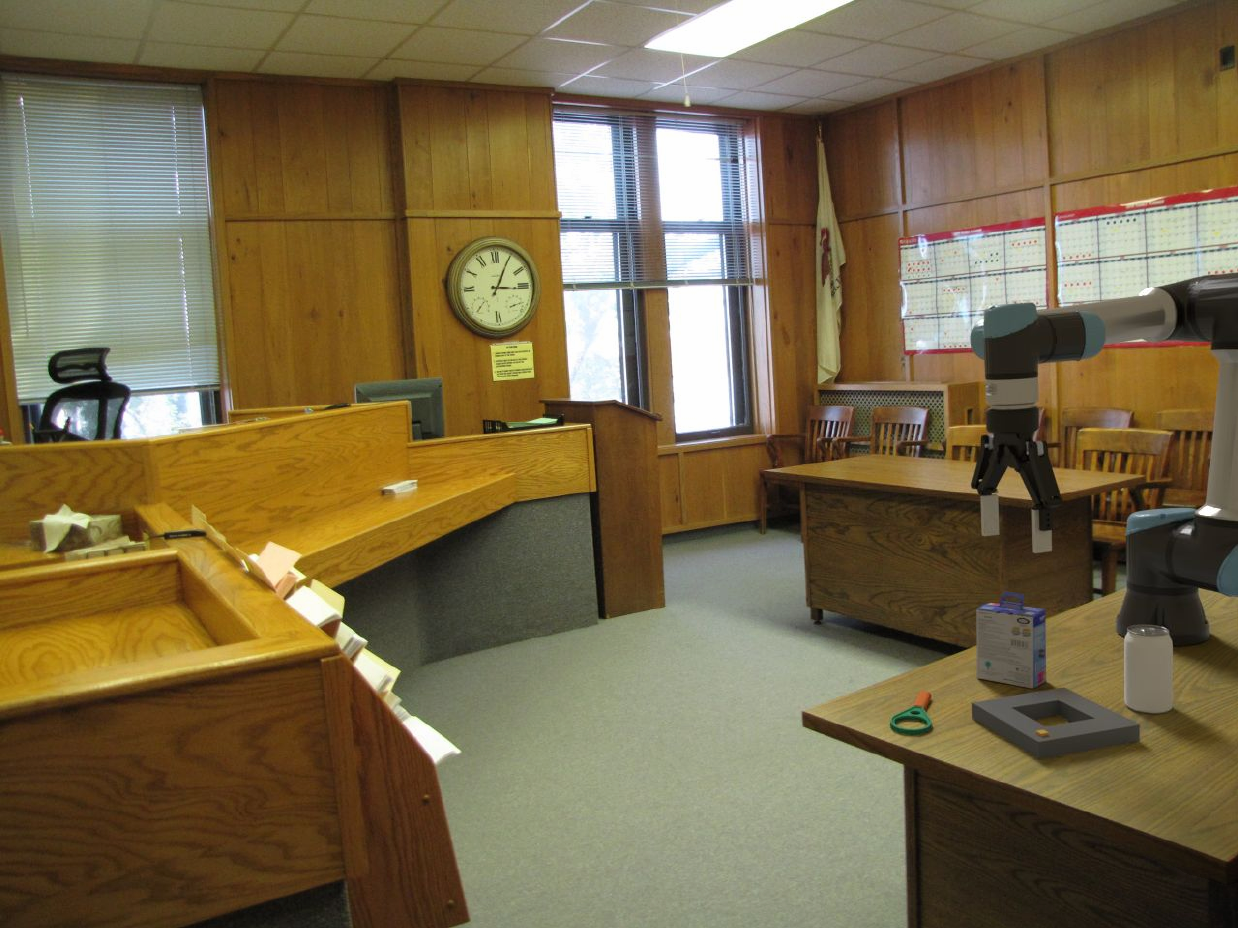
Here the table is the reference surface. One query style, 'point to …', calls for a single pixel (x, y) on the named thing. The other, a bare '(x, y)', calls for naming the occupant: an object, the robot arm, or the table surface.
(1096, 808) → the table surface
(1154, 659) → the can
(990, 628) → the ink cartridge box
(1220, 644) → the table surface
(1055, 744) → the socket block
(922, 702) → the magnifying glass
